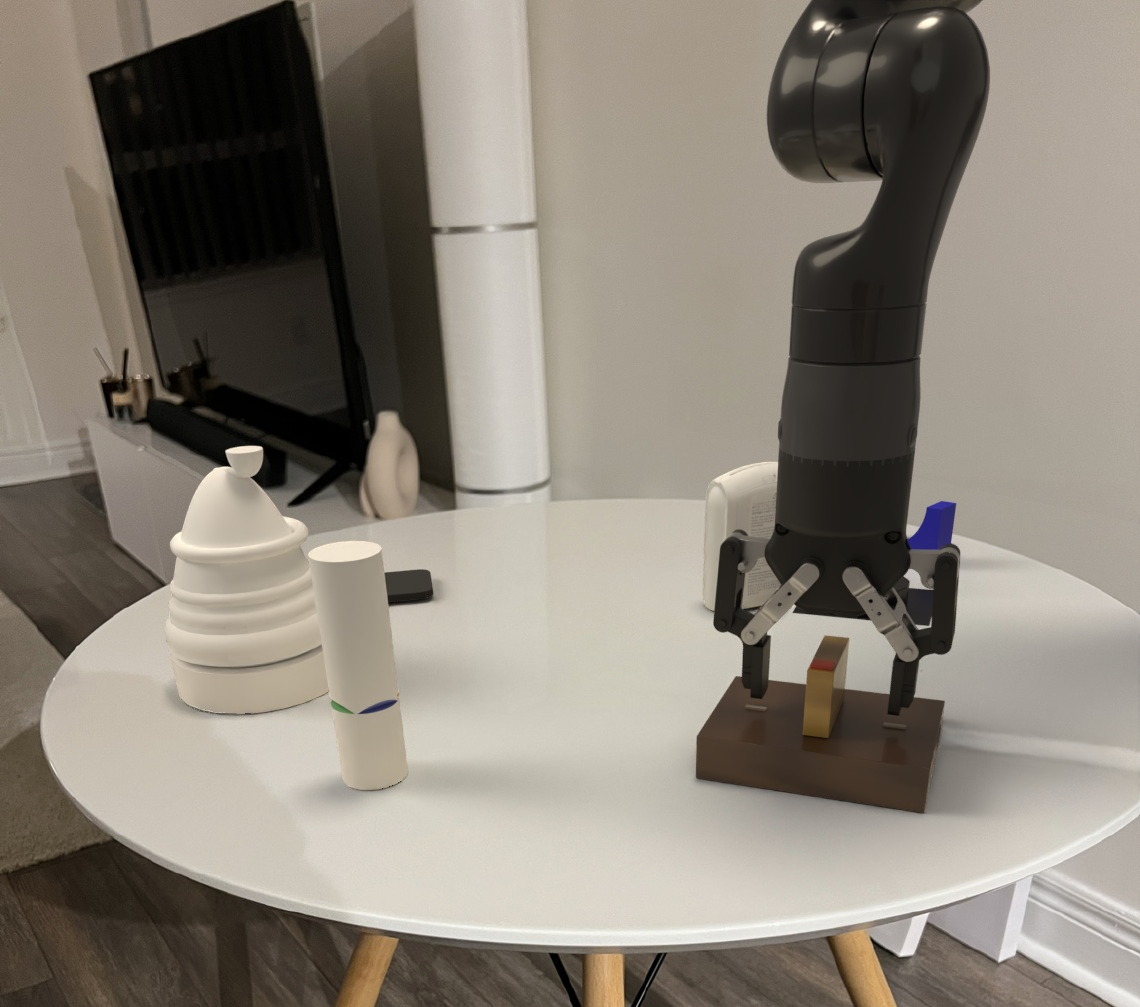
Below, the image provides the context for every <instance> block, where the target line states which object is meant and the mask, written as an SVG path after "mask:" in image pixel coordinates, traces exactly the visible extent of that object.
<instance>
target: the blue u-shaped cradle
mask: <svg viewBox="0 0 1140 1007" xmlns="http://www.w3.org/2000/svg"><path fill="white" fill-rule="evenodd" d="M956 509H957V503H956V502H952V501H946V500H940V501H938V502H936V503H934V504H931V505H929V506H927V507H926V510H925V514H924V518H923V520H922V522H921V524H920V526H919V527H918V528H917V530H916V532H914V533H913V535H912V536H911V537H909V538H907V540H908V543H909V545H910V547H911V549H921V550H940V549H941V547H942V546H944V545H946V544H952V539H953V533H954V525H955V518H956Z"/></svg>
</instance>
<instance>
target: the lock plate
mask: <svg viewBox="0 0 1140 1007" xmlns="http://www.w3.org/2000/svg"><path fill="white" fill-rule="evenodd" d="M750 691H751V689H745V688H744V686H743V684H742V676H740V675H735V677H734V678H733V680H732V681H731V682H730V684H729V686H728V687H727V689H726V690H725V692H724V693H723V694H722V696H721V697H720V700H719V701H718V702H717V704H716V706H715V708H713V710H712V712H711V714H710V715H709V717H708V718H707V720H706V721H705V723H704V724H703V726H702V727H701V729H700V730H699V731H698V733H697V735H696V744H695V745H696V747H695V753H696V754H695V778H696V779H700V780H707V781H714V782H720V783H727V784H731V785H732V784H734V785H739V786H740V785H741V786H745V787H753V788H758V789H765V790H772V791H778V792H784V793H792V794H797V795H799V794H800V795H803V796H804V795H805V796H811V797H816V798H817V797H818V798H822V799H823V798H824V799H831V800H837V801H843V802H850V803H857V804H863V805H869V806H876V807H881V808H882V807H883V808H888V809H889V808H890V809H896V810H902V811H907V812H915V813H921V814H925V810H926V806H927V801H928V798H929V793H930V788H931V783H932V778H933V773H934V770H935V764H936V760H937V755H938V751H939V745H940V741H941V740H940V739H941V732H942V726H943V725H942V724H943V718H944V711H945V703H946V701H945V700H941V699H933V698H925V697H924V698H923V697H917V696H914V699H913V702H912V703H911V705H910V707H909V708H904V707H902V708H901V711H900V715H899V716H896V715H888V714H887V712H888V703H889V694H890V693H883V692H875V691H867V690H857V689H849V688H845V693H844V701H843V703H842V706H841V708H840V711H839V713H838V716H837V718H836V721H835V723H834V726H833V728H832V731H831V733H830V736H829V738H822V737H814V736H807V735H803V722H804V708H805V694H806V683H800V682H799V683H798V682H790V681H781V680H774V679H769V682H768V688H767V691H766V693H765V695H764V696H763V698H762V699H756V698H751V697H750Z"/></svg>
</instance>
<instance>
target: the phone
mask: <svg viewBox="0 0 1140 1007" xmlns="http://www.w3.org/2000/svg"><path fill="white" fill-rule="evenodd" d="M384 573H385V582H386V590H387V598H388V603H395V602H405V601H407V602H408V601H416V600H417V601H418V600H425V599H429V598H431V597H433V595H434V587H433V581H432V574H431V571H430V570H429V569H423V568H421V569H419V568H418V569H407V570H396V571H395V570H394V571H384Z"/></svg>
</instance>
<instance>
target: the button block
mask: <svg viewBox="0 0 1140 1007" xmlns="http://www.w3.org/2000/svg"><path fill="white" fill-rule="evenodd" d="M910 585H911V580H909V579H908V578H906V577H905V575H904V576H903V577H902V578H901V579H900V581H899V582H898V583H897V584H896V585H895V586H894V589H895V590H896V592H897V593H898V595H899V597H900V598H901V600H902V601H903V603H904V605H905V607H906V611H907V613H908V614H909V616H910V617H911V619H912V620H913V622H914V623H915V625H916V626H925V627H929V626H930V625H931V621H932V605H933V589H929V588H915V587H914V588H913V587H910ZM885 597H887V596H885ZM879 613H880V612H879ZM792 614H797V615H798V614H799V615H805V614H804V610H801V609H800V608H798V607H797V606H796V605H795V607H794V609H793V611H792ZM808 615H809V616H810V615H811V614H808ZM811 616H812V615H811ZM818 616H819V617H820V616H821V617H830V618H840V619H844V618H843V617H840V616H837V615H834V614H832V613H827V614H820V615H818ZM849 619H853V618H849ZM853 620H854V619H853ZM855 620H863V621H871V619H870V618H869V616H868V615H867V613H866V614H863V615H860V616H857V618H856V619H855Z"/></svg>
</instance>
